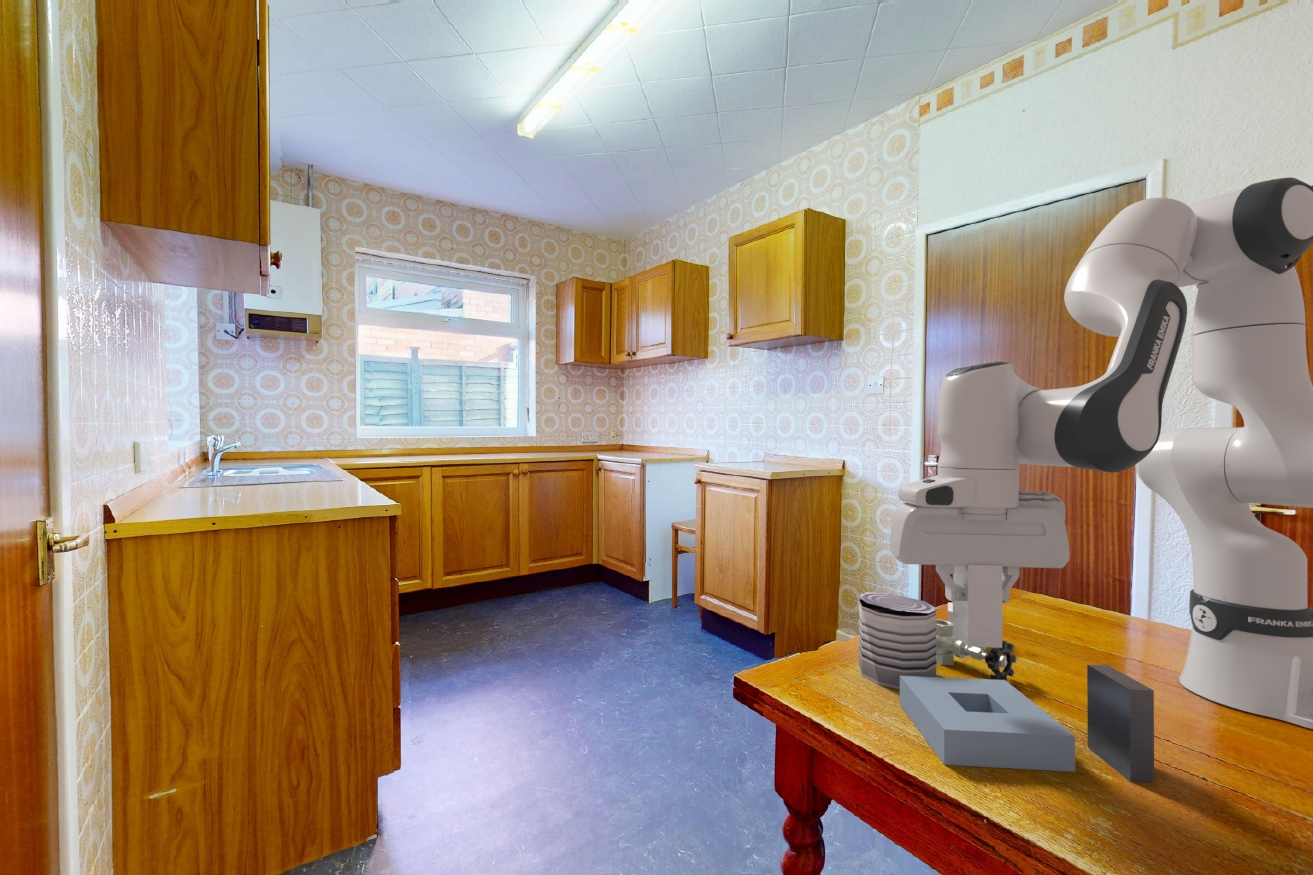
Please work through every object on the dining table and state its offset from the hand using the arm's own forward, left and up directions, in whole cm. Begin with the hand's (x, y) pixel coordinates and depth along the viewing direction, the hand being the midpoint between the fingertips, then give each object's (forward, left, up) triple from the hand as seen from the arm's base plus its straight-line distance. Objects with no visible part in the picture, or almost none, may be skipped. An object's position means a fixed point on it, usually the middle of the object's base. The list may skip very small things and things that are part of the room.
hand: (976, 600), depth 67 cm
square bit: (0, 0, -5) cm, 5 cm away
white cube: (-14, -33, -17) cm, 40 cm away
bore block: (0, 0, -17) cm, 17 cm away
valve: (-8, -20, -17) cm, 28 cm away
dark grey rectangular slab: (-13, +5, -17) cm, 22 cm away
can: (+4, -17, -17) cm, 24 cm away
